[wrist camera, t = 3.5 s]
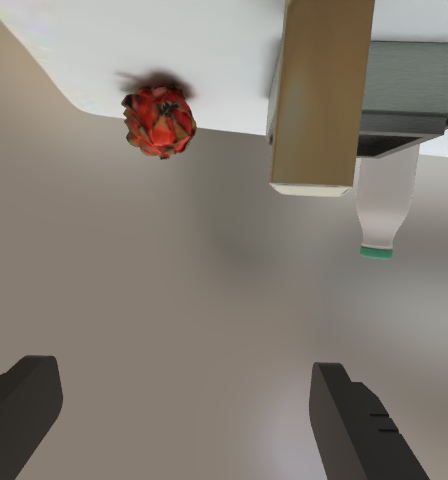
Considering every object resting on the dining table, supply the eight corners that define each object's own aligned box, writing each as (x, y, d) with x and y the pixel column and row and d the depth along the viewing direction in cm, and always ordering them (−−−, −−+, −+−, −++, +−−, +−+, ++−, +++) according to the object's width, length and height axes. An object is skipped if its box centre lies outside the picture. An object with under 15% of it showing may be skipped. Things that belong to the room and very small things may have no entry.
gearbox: (497, 44, 21) (482, 134, 22) (405, 103, 33) (398, 160, 34) (281, 39, 22) (274, 125, 23) (268, 98, 34) (264, 153, 35)
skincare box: (362, 10, 18) (341, 197, 20) (294, 18, 20) (279, 194, 21) (389, -92, 12) (356, 191, 14) (288, -71, 13) (267, 187, 15)
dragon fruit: (149, 95, 40) (163, 37, 28) (195, 137, 42) (225, 99, 31) (110, 138, 38) (109, 93, 26) (161, 180, 40) (179, 155, 29)
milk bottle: (355, 129, 44) (341, 254, 46) (411, 119, 38) (391, 263, 40) (376, 139, 49) (362, 252, 51) (429, 132, 43) (410, 259, 45)
